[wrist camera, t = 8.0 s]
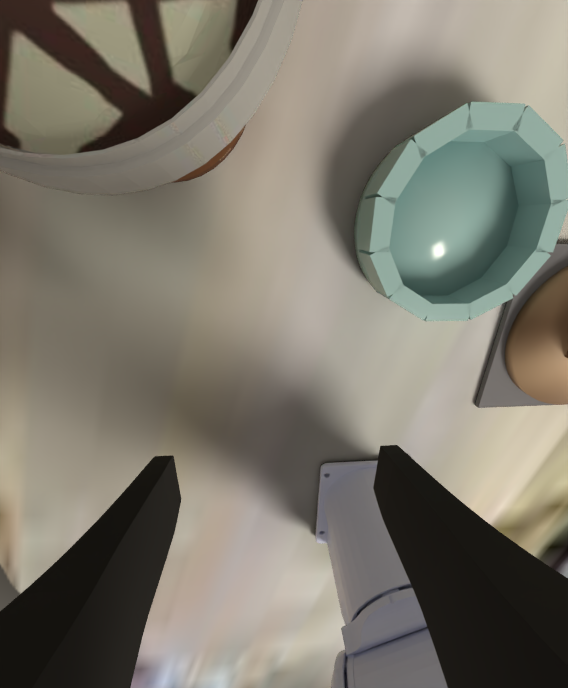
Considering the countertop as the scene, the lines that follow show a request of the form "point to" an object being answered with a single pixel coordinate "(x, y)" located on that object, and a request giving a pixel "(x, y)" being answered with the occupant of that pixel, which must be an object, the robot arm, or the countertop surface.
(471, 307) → the bowl
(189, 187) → the countertop surface
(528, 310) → the lid
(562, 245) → the mat
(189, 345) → the countertop surface
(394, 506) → the robot arm
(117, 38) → the food container
